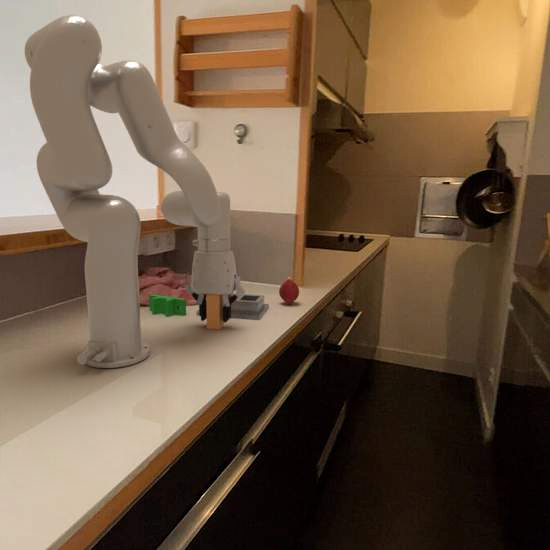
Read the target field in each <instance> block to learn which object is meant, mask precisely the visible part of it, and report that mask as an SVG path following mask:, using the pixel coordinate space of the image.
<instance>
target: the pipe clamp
mask: <svg viewBox="0 0 550 550" xmlns="http://www.w3.org/2000/svg"><path fill="white" fill-rule="evenodd" d="M148 303H149V304H148V305H149V311H150V312H151V315H154V316H156V315H159V314H160V315H161V314H163V315H164V314H165V317H166V318H169V317H172V316H174V315H176V316H182V317H185V316H186V315H187V299H186V298H180V297H173V296H165V295H161V294H160V295H157V294H149V295H148Z"/></svg>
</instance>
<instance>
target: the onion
mask: <svg viewBox="0 0 550 550" xmlns="http://www.w3.org/2000/svg"><path fill="white" fill-rule="evenodd" d="M278 294H279V297H280V298H281V299H282V301H284V302H285V304H286V305H291V304H293V302H295V301H296V300H297V299H298V297H299V295H300V288H299V286H298V285H297V284H296V282H295V281H294V280H292V279H291V277H289V276H288V277H287V279H286V280H285V281H284V282H282V284H281V285H280V287H279V289H278Z"/></svg>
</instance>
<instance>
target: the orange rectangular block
mask: <svg viewBox="0 0 550 550" xmlns="http://www.w3.org/2000/svg"><path fill="white" fill-rule="evenodd" d="M206 305H207V319H206V329H208V330H219V331H220V330H221V329H222V328H223V327H224V324H225V323H224V322H223V306H224V300H223V296H222V295H210V294H206Z"/></svg>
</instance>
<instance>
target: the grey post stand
mask: <svg viewBox="0 0 550 550" xmlns="http://www.w3.org/2000/svg"><path fill="white" fill-rule="evenodd" d="M237 281H238V282H239V284H241V275H239V276H238V275H237ZM234 294H235V293H234V291H233V292H232V293H231V296H233V295H234ZM224 304H225V303H224ZM269 306H270V305H269V303H265V295H262V294H261V295H260V294H248V293H247V294H245V293H244V294H243V295H242V296H240V297H239V298H238V299H236V300H235V301H234V302H233V303H232V304H231V318H230V319H244V320H254V321H260V319H261V318H262V317H263V316H264V314H265V313H266V312H267V310H269V308H270V307H269ZM265 311H266V312H265ZM195 313H196V314H195V315H196V316H199V309H198V310H197V311H196V312H195Z"/></svg>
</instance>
